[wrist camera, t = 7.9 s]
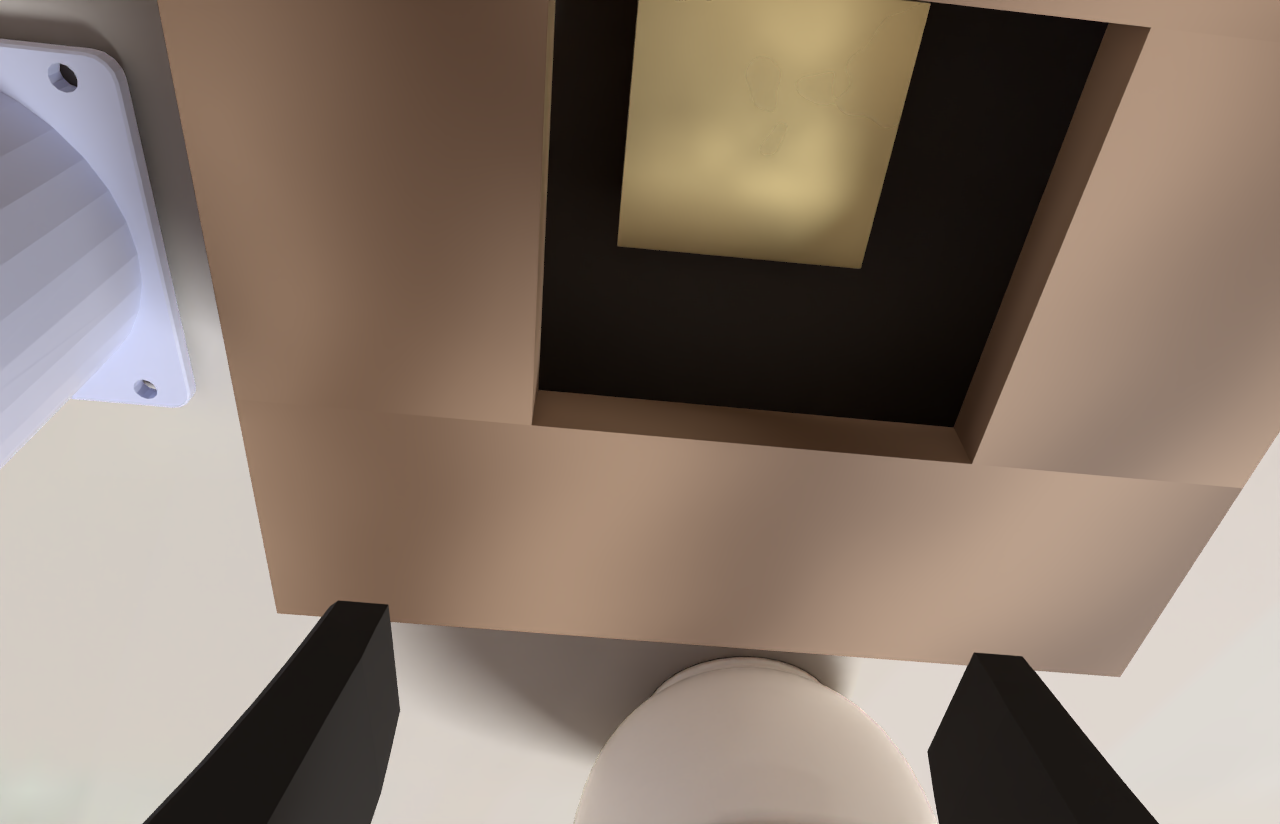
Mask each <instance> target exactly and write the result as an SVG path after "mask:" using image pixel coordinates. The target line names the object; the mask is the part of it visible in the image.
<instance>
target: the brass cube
mask: <svg viewBox="0 0 1280 824" xmlns="http://www.w3.org/2000/svg"><path fill="white" fill-rule="evenodd" d="M930 5H931V3H929V2H928V1H921V0H638V2H637V14H636V25H635V37H634V48H633V60H632V71H631V83H630V94H629V106H628V117H627V129H626V140H625V152H624V163H623V175H622V186H621V199H620V213H619V228H618V242H617V246H621V247H632V248H643V249H653V250H664V251H675V252H686V253H697V254H707V255H718V256H729V257H740V258H750V259H761V260H772V261H783V262H793V263H804V264H815V265H826V266H836V267H847V268H858V269H861V265H862V262H863V258H864V254H865V250H866V247H867V243H868V239H869V235H870V231H871V228H872V224H873V220H874V216H875V213H876V209H877V205H878V201H879V197H880V194H881V190H882V186H883V182H884V179H885V175H886V171H887V167H888V163H889V160H890V156H891V152H892V148H893V145H894V141H895V137H896V133H897V129H898V126H899V122H900V118H901V114H902V111H903V107H904V103H905V99H906V95H907V92H908V88H909V84H910V80H911V77H912V73H913V69H914V65H915V61H916V58H917V54H918V50H919V46H920V43H921V39H922V35H923V31H924V27H925V24H926V20H927V16H928V12H929V9H930Z"/></svg>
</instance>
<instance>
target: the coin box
mask: <svg viewBox="0 0 1280 824" xmlns="http://www.w3.org/2000/svg"><path fill="white" fill-rule="evenodd" d="M921 1H930V2H938V3H947V4H955V5H964V6H972V7H981V8H989V9H998V10H1006V11H1015V12H1024V13H1032V14H1041V15H1049V16H1058V17H1066V18H1075V19H1083V20H1092V21H1100V22H1109V24H1108V26H1107V29H1106V31H1105V34H1104V37H1103V39H1102V42H1101V44H1100V47H1099V50H1098V52H1097V55H1096V57H1095V60H1094V63H1093V65H1092V68H1091V71H1090V73H1089V76H1088V78H1087V81H1086V84H1085V86H1084V89H1083V91H1082V94H1081V97H1080V99H1079V102H1078V104H1077V107H1076V110H1075V112H1074V115H1073V117H1072V120H1071V123H1070V125H1069V128H1068V131H1067V133H1066V136H1065V138H1064V141H1063V144H1062V146H1061V149H1060V151H1059V154H1058V157H1057V159H1056V162H1055V164H1054V167H1053V170H1052V172H1051V175H1050V177H1049V180H1048V183H1047V185H1046V188H1045V191H1044V193H1043V196H1042V198H1041V201H1040V204H1039V206H1038V209H1037V211H1036V214H1035V217H1034V219H1033V222H1032V224H1031V227H1030V230H1029V232H1028V235H1027V237H1026V240H1025V243H1024V245H1023V248H1022V251H1021V253H1020V256H1019V258H1018V261H1017V264H1016V266H1015V269H1014V271H1013V274H1012V277H1011V279H1010V282H1009V284H1008V287H1007V290H1006V292H1005V295H1004V297H1003V300H1002V303H1001V305H1000V308H999V311H998V313H997V316H996V318H995V321H994V324H993V326H992V329H991V331H990V334H989V337H988V339H987V342H986V344H985V347H984V350H983V352H982V355H981V357H980V360H979V363H978V365H977V368H976V371H975V373H974V376H973V378H972V381H971V384H970V386H969V389H968V391H967V394H966V397H965V399H964V402H963V404H962V407H961V410H960V412H959V415H958V417H957V420H956V423H955V425H954V428H953V427H942V426H931V425H920V424H909V423H898V422H887V421H876V420H865V419H854V418H843V417H832V416H821V415H809V414H798V413H787V412H776V411H765V410H754V409H743V408H732V407H721V406H710V405H699V404H688V403H677V402H666V401H655V400H644V399H633V398H622V397H611V396H600V395H589V394H578V393H566V392H555V391H544V390H538V384H539V362H540V339H541V317H542V294H543V271H544V249H545V226H546V204H547V181H548V159H549V136H550V113H551V91H552V68H553V46H554V23H555V0H157V3H158V8H159V13H160V18H161V23H162V28H163V33H164V38H165V43H166V49H167V54H168V59H169V64H170V69H171V74H172V79H173V84H174V89H175V94H176V99H177V105H178V110H179V115H180V120H181V125H182V130H183V135H184V140H185V145H186V150H187V156H188V161H189V166H190V171H191V176H192V181H193V186H194V191H195V196H196V201H197V207H198V212H199V217H200V222H201V227H202V232H203V237H204V242H205V247H206V252H207V258H208V263H209V268H210V273H211V278H212V283H213V288H214V293H215V298H216V303H217V309H218V314H219V319H220V324H221V329H222V334H223V339H224V344H225V349H226V354H227V360H228V365H229V370H230V375H231V380H232V385H233V390H234V395H235V400H236V405H237V410H238V416H239V421H240V426H241V431H242V436H243V441H244V446H245V451H246V456H247V461H248V467H249V472H250V477H251V482H252V487H253V492H254V497H255V502H256V507H257V512H258V518H259V523H260V528H261V533H262V538H263V543H264V548H265V553H266V558H267V563H268V569H269V574H270V579H271V584H272V589H273V594H274V599H275V604H276V609H277V613H281V614H294V615H308V616H321V617H322V616H323V615H324V613H325V612H326V611H327V609H328V608H329V607H330V606H331V605H332V604H334V603H335V602H337V601H338V600H340V601H352V602H365V603H377V604H389V613H390V622H400V623H413V624H427V625H440V626H453V627H466V628H480V629H493V630H506V631H519V632H532V633H546V634H559V635H572V636H585V637H599V638H612V639H625V640H638V641H651V642H665V643H678V644H691V645H704V646H718V647H731V648H744V649H757V650H770V651H784V652H797V653H810V654H823V655H837V656H850V657H863V658H876V659H889V660H903V661H916V662H929V663H942V664H956V665H968V664H969V662H970V659H971V657H972V655H973V653H974V652H976V653H988V654H1001V655H1013V656H1023V658H1024V659H1025V660H1026V661H1027V662H1028V664H1029V665H1030V666H1031V667H1032V669H1033V670H1035V671H1048V672H1061V673H1075V674H1088V675H1101V676H1114V677H1120V676H1121V675H1122V673H1123V671H1124V670H1125V668H1126V667H1127V665H1128V664H1129V662H1130V661H1131V659H1132V658H1133V656H1134V655H1135V653H1136V651H1137V650H1138V648H1139V647H1140V645H1141V644H1142V642H1143V641H1144V639H1145V638H1146V636H1147V635H1148V633H1149V631H1150V630H1151V628H1152V627H1153V625H1154V624H1155V622H1156V621H1157V619H1158V618H1159V616H1160V615H1161V613H1162V611H1163V610H1164V608H1165V607H1166V605H1167V604H1168V602H1169V601H1170V599H1171V598H1172V596H1173V595H1174V593H1175V592H1176V590H1177V588H1178V587H1179V585H1180V584H1181V582H1182V581H1183V579H1184V578H1185V576H1186V575H1187V573H1188V572H1189V570H1190V568H1191V567H1192V565H1193V564H1194V562H1195V561H1196V559H1197V558H1198V556H1199V555H1200V553H1201V552H1202V550H1203V548H1204V547H1205V545H1206V544H1207V542H1208V541H1209V539H1210V538H1211V536H1212V535H1213V533H1214V532H1215V530H1216V528H1217V527H1218V525H1219V524H1220V522H1221V521H1222V519H1223V518H1224V516H1225V515H1226V513H1227V512H1228V510H1229V508H1230V507H1231V505H1232V504H1233V502H1234V501H1235V499H1236V498H1237V496H1238V495H1239V493H1240V492H1241V490H1242V488H1243V487H1244V485H1245V484H1246V482H1247V481H1248V479H1249V478H1250V476H1251V475H1252V473H1253V472H1254V470H1255V468H1256V467H1257V465H1258V464H1259V462H1260V461H1261V459H1262V458H1263V456H1264V455H1265V453H1266V452H1267V450H1268V449H1269V447H1270V445H1271V444H1272V442H1273V441H1274V439H1275V438H1276V436H1277V435H1278V433H1279V432H1280V0H921Z"/></svg>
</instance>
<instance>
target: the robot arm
mask: <svg viewBox="0 0 1280 824" xmlns="http://www.w3.org/2000/svg"><path fill="white" fill-rule="evenodd" d="M60 64H63V65H66V66H68V67H69V68H70V69H71V70H72V71H73V72H74V74H75V76H76V78H77V80H78V86H77V87H76V86H73V85H70V84H69V83H68V82H67V81H66V80H65V79H64V78H63V76H62V75H61V73H60ZM143 380H146V381H149V382H150V383H152V384H153V385H154V386H155V387H156V389H157V390H156V389H152V388H149V387H148V386H147V385H145V384H144V382H143ZM195 392H196V384H195V380H194V375H193V371H192V367H191V362H190V358H189V353H188V349H187V344H186V340H185V335H184V331H183V327H182V322H181V318H180V313H179V309H178V304H177V300H176V295H175V291H174V287H173V282H172V278H171V273H170V269H169V264H168V260H167V255H166V251H165V247H164V242H163V238H162V233H161V229H160V224H159V220H158V215H157V211H156V207H155V202H154V198H153V193H152V189H151V184H150V180H149V175H148V171H147V167H146V162H145V158H144V153H143V149H142V144H141V140H140V135H139V131H138V127H137V122H136V118H135V113H134V109H133V104H132V100H131V96H130V91H129V87H128V82H127V78H126V76H125V74H124V71H123V69H122V67H121V66H120V65H119V64H118V63H117V61H116V60H115V59H114V58H112V57H111V56H109V55H108V54H107V53H105V52H103V51H99V50H96V49H92V48H83V47H73V46H64V45H55V44H46V43H37V42H27V41H18V40H9V39H0V469H1V468H2V467H3V466H4V465H5V464H6V463H7V462H8V461H9V460H10V459H11V458H12V457H13V456H14V455H15V454H16V453H17V452H18V451H19V450H20V449H21V448H22V447H23V446H24V445H25V444H26V443H27V442H28V441H29V440H30V439H31V438H32V437H33V436H34V435H35V434H36V433H37V432H38V431H39V430H40V429H41V427H42V426H43V425H44V424H45V423H46V422H47V421H48V420H49V419H50V418H51V417H52V416H53V415H54V414H55V413H56V412H57V411H58V410H59V409H60V408H61V407H62V406H63V405H64V404H65V403H66V402H67V401H68V400H69V399H79V400H91V401H102V402H114V403H125V404H136V405H148V406H159V407H171V408H175V407H182V406H184V405H186V404H187V403H188V402H189V400H190V399H191V398H192V396H193V395H194V393H195ZM399 713H400V706H399V696H398V687H397V678H396V669H395V660H394V650H393V641H392V632H391V623H390V613H389V604H377V603H365V602H352V601H340V600H338V601H337V602H335V603H334V604H332V605H331V606H330V607H329V608H328V609H327V611H326V612H325V613H324V615H323V616H322V617H321V619H320V620H319V621H318V623H317V624H316V625H315V626H314V628H313V629H312V630H311V632H310V633H309V634H308V636H307V637H306V638H305V639H304V641H303V642H302V643H301V645H300V646H299V647H298V648H297V650H296V651H295V652H294V653H293V655H292V656H291V657H290V658H289V660H288V661H287V662H286V663H285V665H284V666H283V667H282V668H281V670H280V671H279V672H278V673H277V674H276V676H275V677H274V678H273V679H272V680H271V682H270V683H269V684H268V685H267V687H266V688H265V689H264V690H263V691H262V693H261V694H260V695H259V696H258V697H257V699H256V700H255V701H254V702H253V703H252V704H251V706H250V707H249V708H248V709H247V710H246V711H245V712H244V714H243V715H242V716H241V717H240V718H239V719H238V720H237V722H236V723H235V724H234V725H233V726H232V727H231V729H230V730H229V731H228V732H227V733H226V734H225V735H224V737H223V738H222V739H221V740H220V741H219V742H218V743H217V745H216V746H215V747H214V748H213V749H212V750H211V751H210V753H209V754H208V755H207V756H206V757H205V758H204V759H203V760H202V761H201V763H200V764H199V765H198V766H197V767H196V768H195V769H194V770H193V771H192V772H191V773H190V774H189V775H188V776H187V778H186V779H185V780H184V781H183V782H182V783H181V784H180V785H179V786H178V787H177V788H176V789H175V790H174V791H173V792H172V793H171V794H170V795H169V796H168V797H167V798H166V800H165V801H164V802H163V803H162V804H161V805H160V806H159V807H158V808H157V809H156V810H155V811H154V812H153V813H152V814H151V815H150V816H149V817H148V818H147V819H146V821H145V822H144V823H143V824H371V821H372V818H373V815H374V812H375V809H376V806H377V803H378V800H379V797H380V794H381V790H382V786H383V782H384V778H385V774H386V770H387V765H388V761H389V757H390V753H391V748H392V744H393V739H394V735H395V730H396V726H397V721H398V717H399ZM927 752H928V759H929V765H930V772H931V778H932V785H933V792H934V798H935V804H936V809H937V815H938V820H939V824H1159V823H1158V822H1157V821H1156V820H1155V818H1154V817H1153V816H1152V815H1151V814H1150V813H1149V811H1148V810H1147V809H1146V808H1145V807H1144V805H1143V804H1142V803H1141V802H1140V801H1139V800H1138V798H1137V797H1136V796H1135V795H1134V794H1133V792H1132V791H1131V790H1130V789H1129V788H1128V786H1127V785H1126V784H1125V783H1124V782H1123V780H1122V779H1121V778H1120V777H1119V775H1118V774H1117V773H1116V772H1115V771H1114V769H1113V768H1112V767H1111V766H1110V765H1109V763H1108V762H1107V761H1106V760H1105V758H1104V757H1103V756H1102V755H1101V753H1100V752H1099V751H1098V750H1097V748H1096V747H1095V746H1094V745H1093V743H1092V742H1091V741H1090V740H1089V739H1088V737H1087V736H1086V735H1085V734H1084V732H1083V731H1082V730H1081V729H1080V727H1079V726H1078V725H1077V724H1076V722H1075V721H1074V720H1073V719H1072V717H1071V716H1070V715H1069V714H1068V712H1067V711H1066V710H1065V709H1064V707H1063V706H1062V705H1061V703H1060V702H1059V701H1058V700H1057V698H1056V697H1055V696H1054V695H1053V693H1052V692H1051V691H1050V690H1049V688H1048V687H1047V686H1046V685H1045V683H1044V682H1043V681H1042V680H1041V678H1040V677H1039V676H1038V675H1037V673H1036V672H1035V671H1034V670H1033V669H1032V667H1031V666H1030V665H1029V664H1028V662H1027V661H1026V660H1025V659H1024V658H1023V656H1013V655H1001V654H988V653H976V652H974V653H973V655H972V657H971V659H970V662H969V664H968V666H967V668H966V670H965V672H964V674H963V677H962V679H961V681H960V683H959V685H958V687H957V689H956V692H955V694H954V696H953V698H952V700H951V702H950V704H949V706H948V709H947V711H946V713H945V715H944V717H943V719H942V721H941V724H940V726H939V728H938V730H937V732H936V734H935V736H934V739H933V741H932V743H931V745H930V747H929V749H928V751H927Z"/></svg>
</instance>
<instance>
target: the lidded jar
mask: <svg viewBox="0 0 1280 824" xmlns="http://www.w3.org/2000/svg"><path fill="white" fill-rule="evenodd" d="M574 824H938V822H937V820H936V817H935V815H934V813H933V810H932V808H931V806H930V803H929V801H928V799H927V797H926V794H925V792H924V790H923V788H922V786H921V785H920V783H919V781H918V779H917V778H916V776H915V774H914V772H913V770H912V769H911V767H910V765H909V763H908V762H907V760H906V759H905V757H904V756H903V754H902V753H901V751H900V750H899V748H898V747H897V746H896V745H895V743H894V742H893V741H892V740H891V738H890V737H889V736H888V734H887V733H886V732H885V731H884V730H883V729H882V728H881V727H880V726H879V725H878V724H877V723H876V722H875V721H874V720H873V719H872V718H871V717H870V716H869V715H868V714H866V713H865V712H864V711H863V710H862V709H861V708H860V707H859V706H857V705H856V704H855V703H853V702H852V701H850V700H849V699H847V698H846V697H844V696H842V695H841V694H839V693H837V692H836V691H834V690H832V689H831V688H829V687H826V686H824V685H822V684H821V683H820V682H819V681H818V680H817V679H816V678H815V677H813V676H812V675H810V674H809V673H807V672H806V671H804V670H802V669H800V668H797V667H795V666H793V665H790V664H787V663H784V662H781V661H777V660H772V659H766V658H757V657H731V658H723V659H716V660H712V661H708V662H703V663H700V664H697V665H695V666H692V667H689V668H687V669H685V670H683V671H681V672H679V673H677V674H675V675H674V676H672V677H671V678H669V679H668V680H667V681H665V682H664V683H663V684H662V685H661V686H660V687H659V688H658V689H657V690H656V691H655V693H654V694H653V695H652V697H651V698H649V699H648V700H646V701H645V702H644V703H642V704H641V705H640V706H639V707H638V708H637V709H635V710H634V711H633V712H632V713H631V714H630V715H629V716H628V717H627V718H626V719H625V720H624V721H623V722H622V723H621V724H620V725H619V727H618V728H617V729H616V730H615V732H614V733H613V734H612V736H611V737H610V738H609V740H608V741H607V743H606V744H605V745H604V747H603V748H602V750H601V752H600V753H599V755H598V757H597V759H596V761H595V763H594V765H593V767H592V769H591V771H590V774H589V776H588V778H587V781H586V783H585V786H584V789H583V792H582V795H581V798H580V802H579V805H578V808H577V811H576V814H575V819H574Z"/></svg>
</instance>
